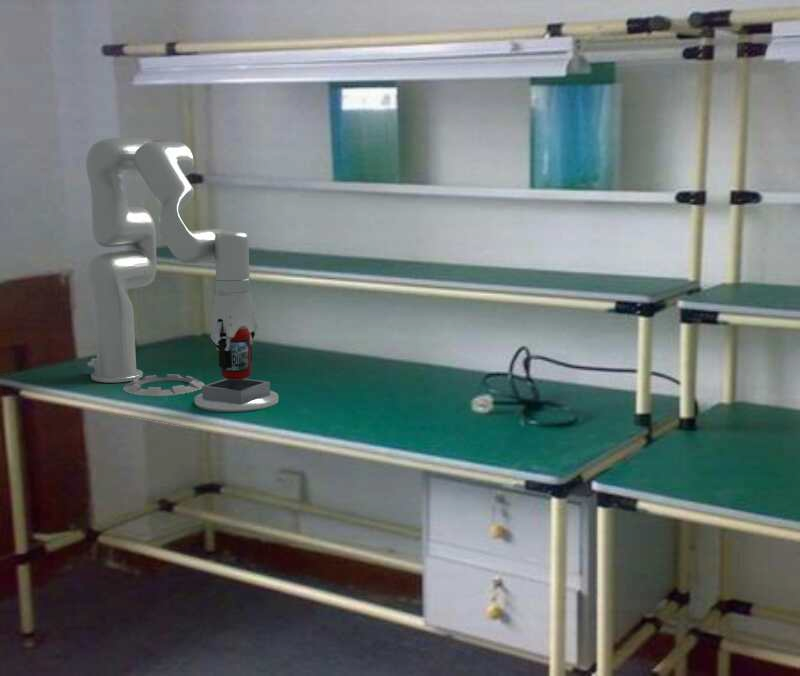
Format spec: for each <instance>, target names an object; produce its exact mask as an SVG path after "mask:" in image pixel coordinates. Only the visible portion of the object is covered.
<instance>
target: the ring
mask: <svg viewBox="0 0 800 676" xmlns="http://www.w3.org/2000/svg"><path fill="white" fill-rule="evenodd" d="M157 382H182V383H183V382H184V383H188V384H189V385H187V386H185V385H183V384H181V385H174V386H171V388H170V389H162V387H161V386H159V387H158V386H156V387H155V386H149V387H148V388H147V389H146V388H145V389H144V388H142V386H141V385H144V384H149V383H157ZM204 385H206V384H205V383H204V382H203V381H201V380H199V379H197V378H195V377H193V376H189V375H186V376H185V377H183V376H182V375H180V374H166V377H157V374H156V375H155V374H154V375H147V376H144V377H142V378H140V379H136V380H133V381H130V383H127V384H125V385H124V386H123V388H122V390H123V391H124V392H125V393H126V394H130V395H135V396H141V397H142V396H143V397H170V396H179V394H181V395H186V394H185V393H187V394H191V393H195V392H198V391H200V390H202V386H204ZM197 390H198V391H197ZM194 391H195V392H194ZM190 392H191V393H190Z"/></svg>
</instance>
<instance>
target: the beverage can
mask: <svg viewBox="0 0 800 676" xmlns="http://www.w3.org/2000/svg"><path fill="white" fill-rule="evenodd" d="M223 336H226V334H223ZM223 342H224V343H225V344H226V340H223ZM229 350H231V352H232V367H231V368H223V367H220V369H221V370H220V371H221V376H222V377H223V378H225V379H229V380H241V379H248V378H249V376H251V374H252V362H251V349H250V332H249V330H248V329H247V326H245V327H241V328H239V329H238V331H237V333H236V334H235V337H234V338H232V339H231V345H230V349H229Z"/></svg>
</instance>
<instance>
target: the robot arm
mask: <svg viewBox="0 0 800 676" xmlns="http://www.w3.org/2000/svg"><path fill="white" fill-rule="evenodd" d="M85 160H86V162H85V163H86V165H85V166H86V168H85V169H86V173H87V178H88V182H89V186H90V193H91V194H90V195H91V197H90V198H91V200H90V201H91V202H90V203H91V204H90V205H91V226H92V235H93V239H94V241H95V243H96V244H97V245H99V246H101V247H104V248H115V247H118V248H119V247H125V246H127V250H122V251H121V250H120V251H119V250H118V251H113V252H105V253H101V254H98V255H96V256H95V257H93V258H92V259H91V261H89V263H88V266H87V277H88V282H89V285H90V289H91V290H90V291H91V295H92V303H93V315H94V326H95V327H94V329H95V347H96V349H95V350H96V358H91V359H90V361H88V362H87V367H88V368H94V372H92V373H91V374H90V376H91V378H90V379H91V380H92V381H94V382H97V383H98V382H99V383H127V382H132V381H134V380H136V379H139V380H141V379H142V378H143V376H144V372H143V371H142V370H141V369H137V357H136V353H137V352H136V335H135V334H136V333H135V314H134V307H133V306H134V305H133V303H132V301H131V299H130V297H129V296H128V294H127V292H126V290H130V289H135V288H136V289H138V288H143V287H147V286H149V285H150V284H152V283H153V281H155V278H156V274H157V238H156V237H157V236H156V235H157V233H156V223H155V221H154V219H153V217H152V215H151V213H150V212H149V211H148V210H147V209H145V208H144V207H141V206H128V192H127V188H126V186H125V184H124V182H123V180H122V178H121V177H120V176H119V175H125V174H127V175H128V174H129V175H130V174H140V176H141V177H142V179H143V180H144V182H145V184H146V185H147V186H148V188H149V190H150V191H151V193H152V195H153V196H154V198H155V199H156V200H157V203H158V204H159V205H160V207H161V208H160V213H159V230H160V234H161V236H162V240H163V241H164V242H165V244H166V246H167V247H168V249H169V250H170V252H171V253H172V255H173V256H174V257H175V258H176V260H178V261H179V262H180V263H182V264H185V265H189V266H191V265H199V264H206V263H208V264H209V263H214V264H215V289H216V294H214V298H213V304H212V322H211V323H212V333H211V334H210V338H211V340H212V342H213V344H214V346H215V347H216V350H217V351H218V366H219V368H221V367H223V368H231V367H232V352H231V350H229V349H230V345H231V339H232V338H234V337H235V334H236V333H237V331H238V329H239V328H241V327H245V326H247V329H248V330H249V332H250V349H251V363H252V361H253V354H252V353H253V351H252V349H253V348H252V346H253V343H254V338H255V335H256V331H257V330H258V328H259V327H258V326H259V325H258V324H257V323H256V322H255V319H254V306H253V299H252V294H251V293H252V292H251V281H250V280H251V277H250V274H251V273H250V249H249V248H250V246H249V244H250V242H249V237H248V235H247V233H245V232H243V231H229V230H228V231H227V230H226V229H221V228H211V229H210V228H209V229H198V230H189V229H188V228H187V226H186V224H185V223H184V222H183V220H182V218H181V216H180V213H179V212H180V211H181V210H182V209H183V208H185V207H186V206H187V205H188V204H189V203H191V201H192V200H193V198H194V195H195V190H194V188H193V185H192V184H191V183H190V181H189V180H188V178H187V176H188V175H190V174H191V172H192V171H193V170H194V164H195V161H194V156H193V153H192V151H191V149H190V148H189V147H188V146H187V145H186V144H185V143H183V142H181V141H175V140H174V141H173V140H167V139H166V140H165V139H161V138H149V137H129V138H128V137H116V138H114V137H113V138H107V139H106V138H104V139H102V140H99V141H96V142H95V143H94V144H92V146H91V147H90V148H89V150H88V152H87V155H86V159H85ZM223 334H226V336H223ZM223 340H226V344H225V343H224V342H223Z"/></svg>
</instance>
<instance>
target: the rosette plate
mask: <svg viewBox="0 0 800 676" xmlns="http://www.w3.org/2000/svg"><path fill="white" fill-rule="evenodd" d="M278 402H279V394H278V393H277V392H275V391H274V390H271V381H266V380H256V379H250V378H246V379H241V380H229V379H226V378H225V379H220V380H218V381H214V382H211V383H208V384H205V385H204V386H202V389H201V392H200V393H199V394H196V396H194V405H195V407H197V408H198V409H201V410H204V411H210V412H217V413H242V412H243V413H244V412H252V411H253V412H254V411H261V410H264V409H268V408H271V407H273V405H274V406H276V405H277V404H278Z"/></svg>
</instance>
